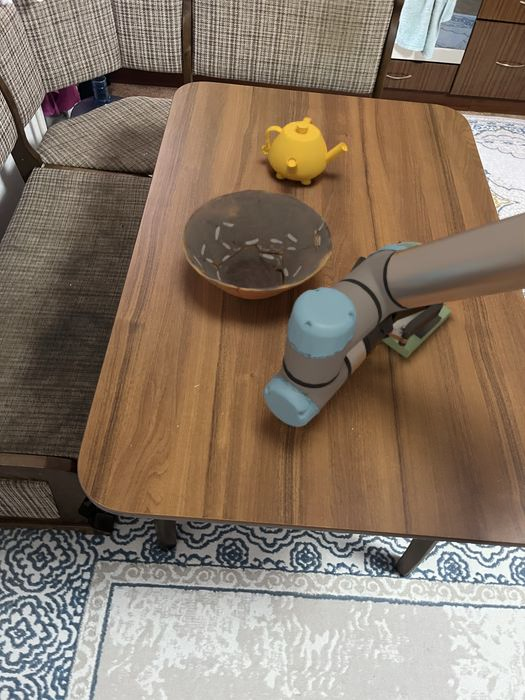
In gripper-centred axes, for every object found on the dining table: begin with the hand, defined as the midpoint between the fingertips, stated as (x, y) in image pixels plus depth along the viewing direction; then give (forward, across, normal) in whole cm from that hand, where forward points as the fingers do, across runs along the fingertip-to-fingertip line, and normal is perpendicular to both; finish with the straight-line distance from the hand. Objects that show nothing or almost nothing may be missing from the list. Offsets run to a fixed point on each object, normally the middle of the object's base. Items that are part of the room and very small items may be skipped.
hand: (421, 260), depth 89 cm
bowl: (-15, -23, -10) cm, 29 cm away
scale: (-5, 0, -9) cm, 10 cm away
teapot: (+15, -36, -10) cm, 40 cm away
